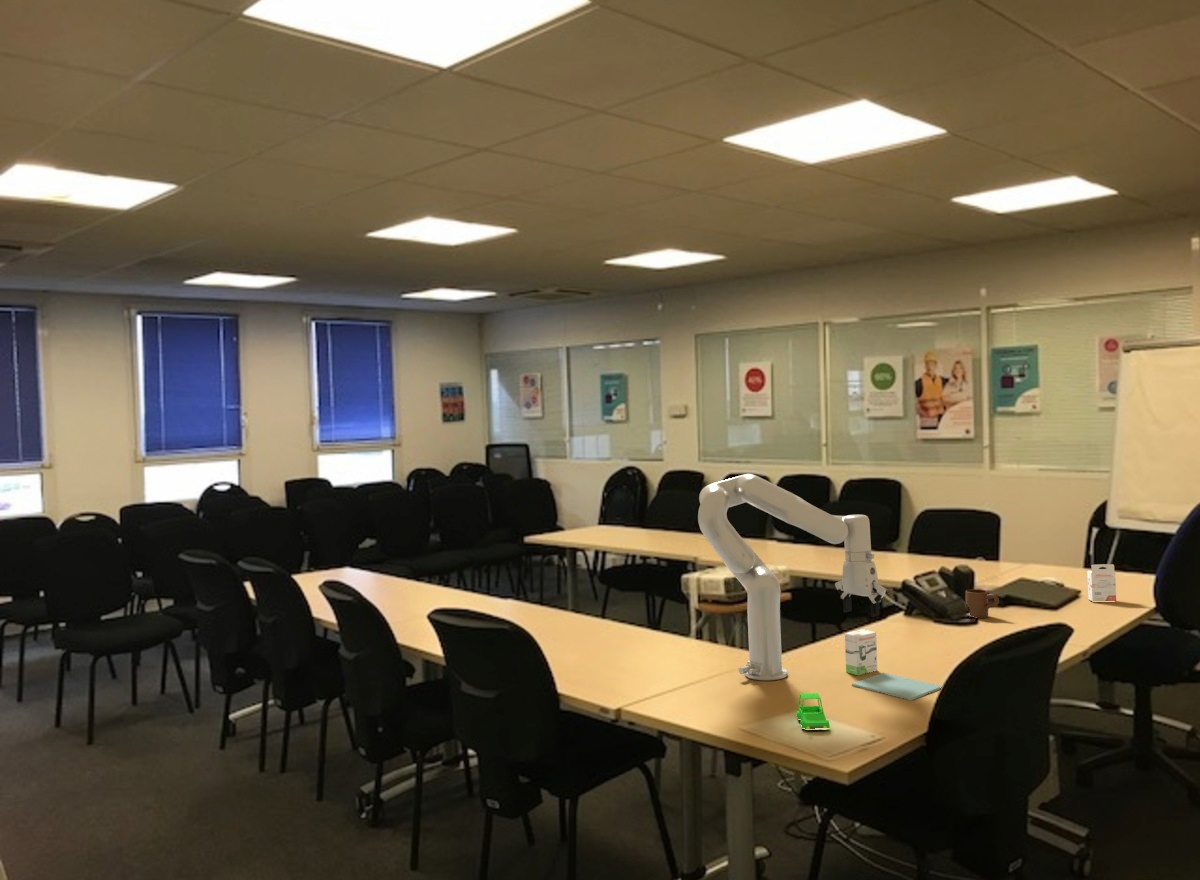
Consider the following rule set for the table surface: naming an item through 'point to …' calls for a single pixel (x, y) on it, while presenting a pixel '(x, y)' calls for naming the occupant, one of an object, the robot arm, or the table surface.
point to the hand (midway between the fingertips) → (861, 613)
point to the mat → (897, 686)
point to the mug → (980, 602)
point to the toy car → (811, 713)
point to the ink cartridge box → (1101, 583)
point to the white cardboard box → (861, 652)
